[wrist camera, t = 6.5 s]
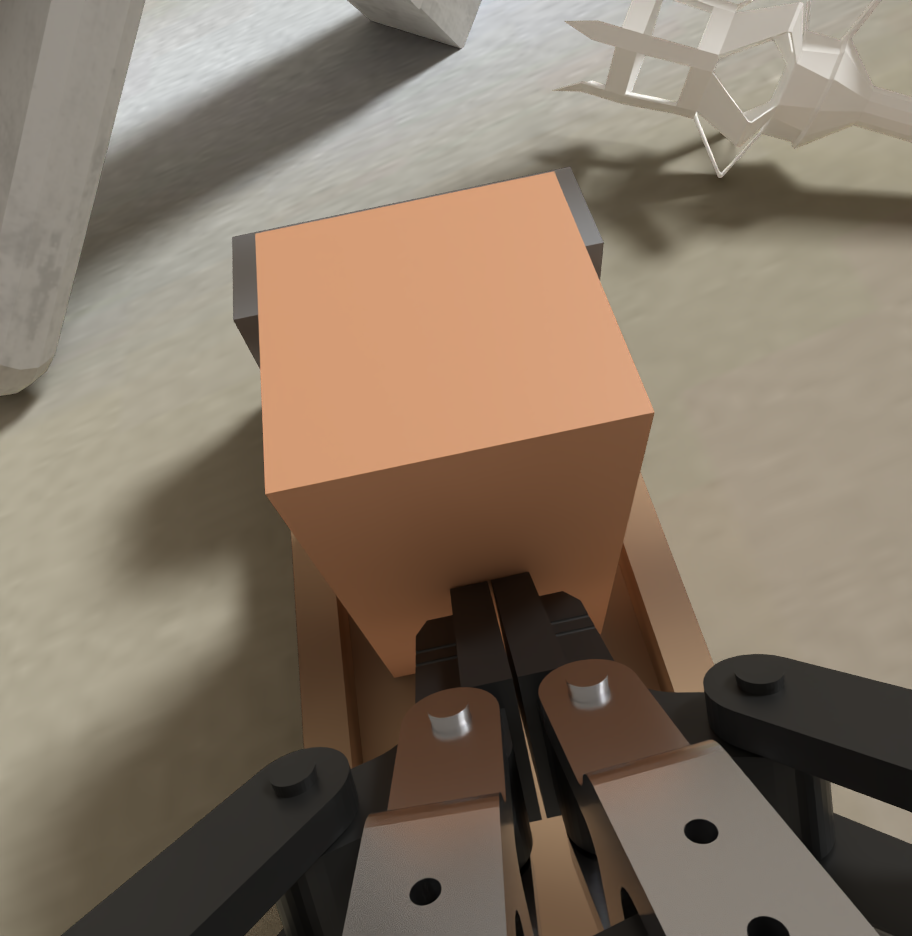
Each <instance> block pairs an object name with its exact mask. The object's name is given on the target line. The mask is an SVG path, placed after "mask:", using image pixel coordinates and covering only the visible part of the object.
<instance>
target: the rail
mask: <svg viewBox="0 0 912 936" xmlns="http://www.w3.org/2000/svg"><path fill="white" fill-rule="evenodd" d="M553 171H554V172H555V175H556V177H557V179H558V182H559V184H560V187H561V189H562V191H563V194H564V196H565V199H566V201H567V203H568V206H569V208H570V211H571V213H572V215H573V218H574V220H575V223H576V225H577V227H578V230H579V232H580V235H581V237H582V239H583V242H584V244H585V247H586V249H587V251H588V254H589V256H590V259H591V261H592V263H593V266H594V268H595V271H596V273H597V275H598V278H599V280H600V275H601V264H602V254H603V244H604V242H603V240H602V238H601V235H600V233H599V231H598V228H597V226H596V224H595V222H594V219H593V217H592V215H591V212H590V210H589V208H588V206H587V203H586V201H585V199H584V197H583V194H582V192H581V190H580V187H579V185H578V183H577V181H576V178H575V176H574V174H573V172H572V169H571V167H566V168H561V169H556V170H551V171H546V172H542V173H537V174H532V175H527V176H522V177H518V178H513V179H508V180H503V181H498V182H494V183H489V184H484V185H479V186H475V187H470V188H465V189H460V190H455V191H451V192H446V193H441V194H436V195H431V196H427V197H422V198H417V199H412V200H407V201H403V202H398V203H393V204H388V205H383V206H379V207H374V208H369V209H364V210H359V211H355V212H350V213H345V214H340V215H335V216H331V217H326V218H321V219H316V220H311V221H307V222H302V223H297V224H292V225H287V226H283V227H278V228H273V229H268V230H264V231H259V232H254V233H249V234H244V235H240V236H235V237H232V249H233V320H234V322H235V324H236V326H237V328H238V329H239V331H240V333H241V335H242V337H243V339H244V340H245V342H246V344H247V346H248V348H249V350H250V351H251V353H252V355H253V357H254V359H255V361H256V363H257V364H258V366H259V368H260V345H259V319H258V293H257V267H256V241H255V234H256V233H261V232H266V231H271V230H275V229H280V228H285V227H290V226H295V225H299V224H304V223H309V222H314V221H319V220H323V219H328V218H333V217H338V216H342V215H347V214H352V213H357V212H362V211H366V210H371V209H376V208H381V207H386V206H390V205H395V204H400V203H405V202H410V201H414V200H419V199H424V198H429V197H434V196H438V195H443V194H448V193H453V192H458V191H462V190H467V189H472V188H477V187H482V186H486V185H491V184H496V183H501V182H506V181H510V180H515V179H520V178H525V177H530V176H534V175H539V174H544V173H549V172H553ZM291 540H292V557H293V574H294V591H295V608H296V624H297V641H298V658H299V675H300V692H301V708H302V725H303V742H304V749H306V748H312V747H328V748H333V749H336V750H338V751H340V752H341V753H343V754H344V755H345V756H346V758H347V759H348V762H349V765H350V769H352V768H354V767H356V766H358V765H361V764H363V763H365V762H367V761H370V760H372V759H374V758H376V757H378V756H380V755H382V754H384V753H386V752H387V751H389V750H390V749H392V748H393V747H394V746H396V745H397V744H398V741H399V734H400V728H401V723H402V720H403V718H404V716H405V714H406V713H407V712H408V710H409V709H410V708H411V707H412V706H413V705H415V674H411V675H406V676H401V677H396V678H394V677H393V675H392V674H391V672H390V671H389V670H388V668H387V667H386V665H385V664H384V663H383V661H382V660H381V658H380V657H379V655H378V654H377V653H376V651H375V650H374V648H373V647H372V645H371V644H370V643H369V641H368V640H367V638H366V637H365V635H364V634H363V633H362V631H361V630H360V628H359V627H358V625H357V624H356V623H355V621H354V620H353V618H352V617H351V616H350V614H349V613H348V611H347V610H346V608H345V607H344V606H343V604H342V603H341V601H340V600H339V598H338V597H337V596H336V594H335V593H334V591H333V590H332V588H331V587H330V586H329V584H328V583H327V581H326V580H325V578H324V577H323V576H322V574H321V573H320V571H319V570H318V569H317V567H316V566H315V564H314V563H313V561H312V560H311V559H310V557H309V556H308V554H307V553H306V551H305V550H304V549H303V547H302V546H301V544H300V543H299V541H298V540H297V539H296V537H295V536H294V534H293V533H292V532H291ZM600 636H601V638H602V640H603V641H604V643H605V645H606V647H607V648H608V650H609V652H610V654H611V656H612V657H613V659H614V661H615V662H618V663H621V664H623V665H626V666H627V667H629V668H630V669H632V670H633V671H634V672H635V673H636V674H637V676H638V677H639V678H640V680H641V681H642V682H643V684H644V685H645V686H646V688H648V689H651V690H656V691H663V692H704V687H703V680H704V676H705V674H706V673H707V671H708V670H709V669H710V668H711V667H713V666H714V663H713V661H712V658H711V656H710V653H709V650H708V648H707V645H706V642H705V640H704V637H703V635H702V632H701V629H700V627H699V624H698V621H697V619H696V616H695V614H694V611H693V608H692V606H691V603H690V601H689V598H688V595H687V593H686V590H685V587H684V585H683V582H682V580H681V577H680V574H679V572H678V569H677V566H676V564H675V561H674V559H673V556H672V553H671V551H670V548H669V545H668V543H667V540H666V538H665V535H664V532H663V530H662V527H661V524H660V522H659V519H658V517H657V514H656V511H655V509H654V506H653V503H652V501H651V498H650V496H649V493H648V490H647V488H646V485H645V482H644V480H643V477H642V475H641V472H640V474H639V479H638V483H637V487H636V491H635V495H634V499H633V503H632V508H631V512H630V516H629V520H628V524H627V528H626V533H625V537H624V541H623V545H622V549H621V553H620V557H619V562H618V566H617V570H616V574H615V578H614V582H613V587H612V591H611V595H610V599H609V603H608V607H607V611H606V616H605V620H604V624H603V628H602V632H601V634H600ZM518 707H519V706H518ZM519 712H520V710H519ZM520 717H521V714H520ZM521 721H522V718H521ZM522 726H523V722H522ZM523 731H524V736H525V740H526V745H527V750H528V755H529V760H530V764H531V769H532V774H533V779H534V784H535V788H536V793H537V798H538V803H539V807H540V812H541V817H542V820H539V821H534V822H530V828H531V833H532V838H533V846H532V851H531V856H532V860H533V865H534V870H535V876H536V885H537V894H538V902H539V911H540V920H541V929H542V936H593V935H595V934H597V933H599V931H598V929H597V926H596V923H595V921H594V918H593V915H592V913H591V910H590V908H589V905H588V902H587V900H586V897H585V894H584V892H583V889H582V887H581V884H580V881H579V879H578V876H577V873H576V871H575V868H574V866H573V862H572V859H571V854H570V849H569V844H568V839H567V834H566V829H565V825H564V822H563V818H562V815H561V816H556V817H552V818H547V817H546V813H545V809H544V805H543V801H542V797H541V793H540V789H539V785H538V781H537V777H536V773H535V769H534V766H533V762H532V758H531V754H530V750H529V746H528V742H527V738H526V734H525V730H524V726H523Z"/></svg>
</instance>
